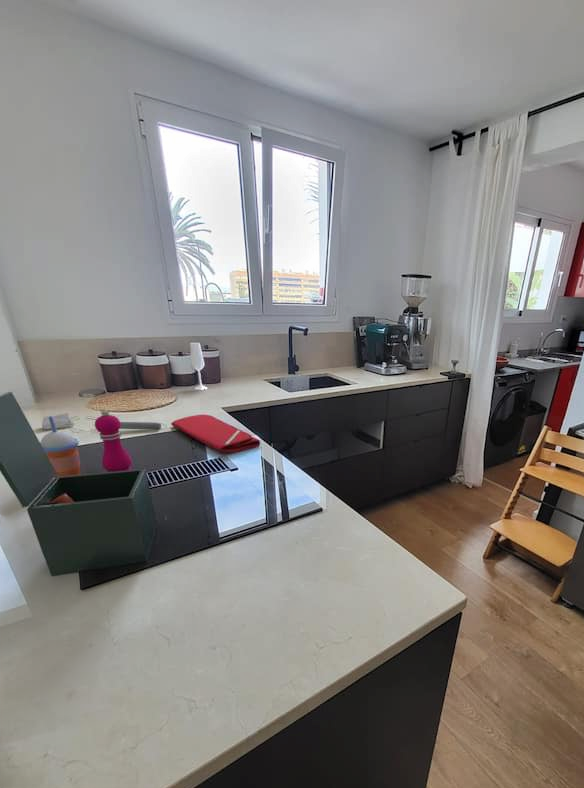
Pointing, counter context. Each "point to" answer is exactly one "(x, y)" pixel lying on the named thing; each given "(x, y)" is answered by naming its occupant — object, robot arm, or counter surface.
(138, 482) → the bin
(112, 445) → the pepper mill
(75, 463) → the cup with straw
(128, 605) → the counter surface
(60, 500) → the orange cylinder
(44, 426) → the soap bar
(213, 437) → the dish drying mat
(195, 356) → the champagne flute
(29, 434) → the bin lid
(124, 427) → the kitchen whisk
